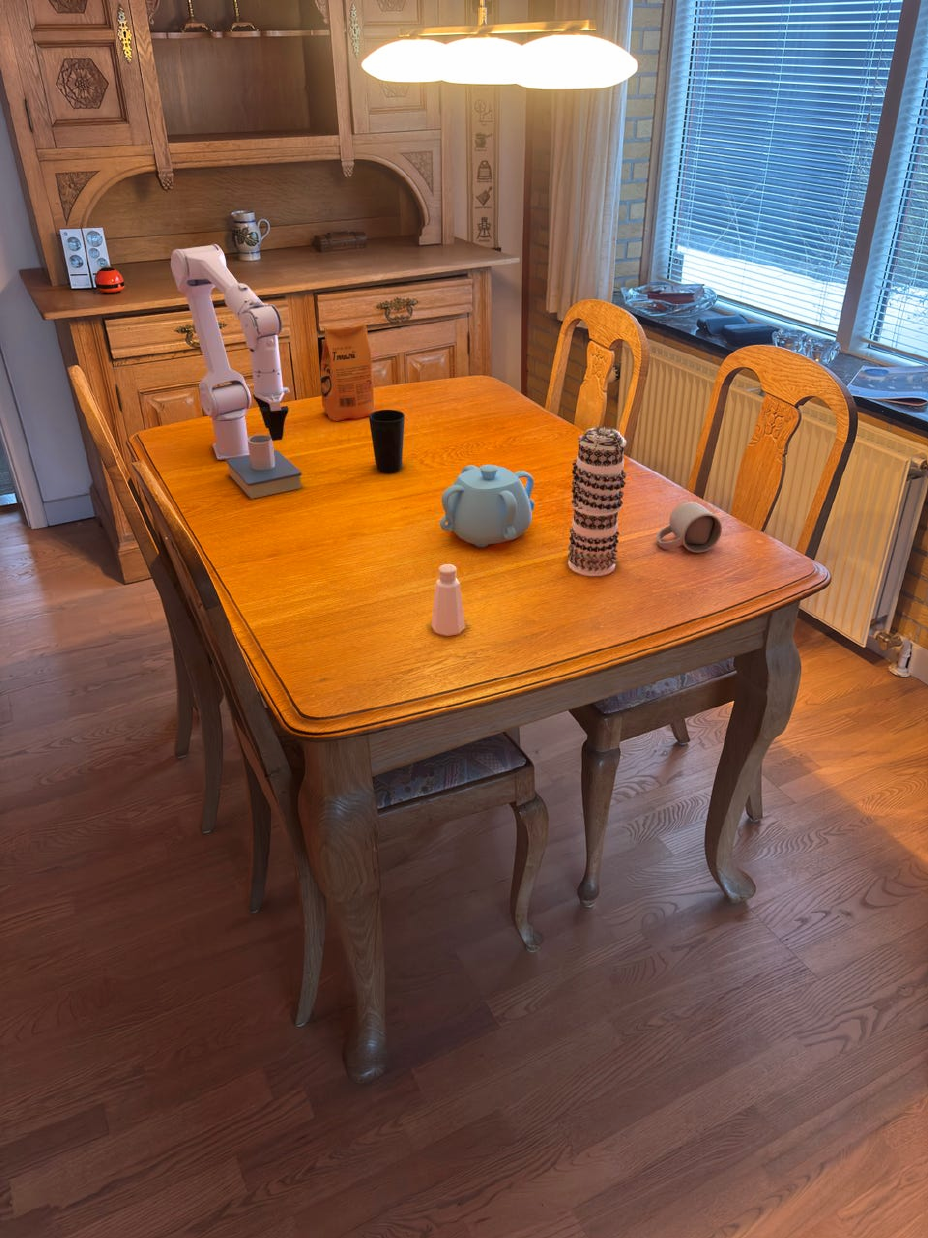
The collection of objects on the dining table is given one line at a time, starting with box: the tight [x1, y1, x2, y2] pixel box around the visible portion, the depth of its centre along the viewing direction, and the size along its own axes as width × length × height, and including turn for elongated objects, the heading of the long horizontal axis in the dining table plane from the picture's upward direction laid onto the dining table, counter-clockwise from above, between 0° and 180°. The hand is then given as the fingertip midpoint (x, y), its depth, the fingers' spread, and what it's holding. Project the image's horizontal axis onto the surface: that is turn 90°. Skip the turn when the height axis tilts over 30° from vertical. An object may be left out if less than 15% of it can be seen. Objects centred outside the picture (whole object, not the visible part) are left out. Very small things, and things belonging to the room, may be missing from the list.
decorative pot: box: [439, 464, 536, 548], centre depth 174 cm, size 16×16×14 cm
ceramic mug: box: [656, 500, 723, 554], centre depth 172 cm, size 11×8×8 cm
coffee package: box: [320, 322, 376, 422], centre depth 228 cm, size 10×12×22 cm
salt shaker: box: [431, 563, 466, 637], centre depth 146 cm, size 5×5×11 cm
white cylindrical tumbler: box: [247, 434, 275, 471], centre depth 195 cm, size 5×5×6 cm
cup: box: [368, 409, 406, 474], centre depth 201 cm, size 8×8×12 cm
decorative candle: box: [567, 426, 628, 577], centre depth 160 cm, size 9×9×25 cm
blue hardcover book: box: [225, 449, 303, 500], centre depth 197 cm, size 15×12×4 cm
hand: (274, 433), depth 194 cm, fingers open, 7 cm apart
